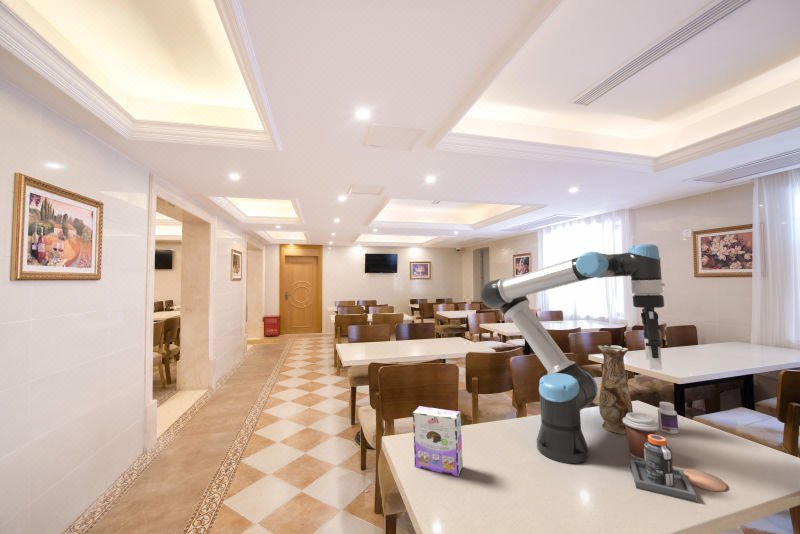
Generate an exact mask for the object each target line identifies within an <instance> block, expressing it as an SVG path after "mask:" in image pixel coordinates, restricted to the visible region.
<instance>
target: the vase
mask: <svg viewBox="0 0 800 534" xmlns="http://www.w3.org/2000/svg"><path fill="white" fill-rule="evenodd" d="M597 347H598V349H599V350H600V352H601V354H602V356H603V365H602V366H603V367H602V375H601V383H600V391H599V399H598V406H599V407H598V409H599V414H600V418H601V419H602V420H603V421H604V422H603V423H602V424H601V426H602V427H603V428H604V430H607V431H609V432H612V433H616V434H623V435H624V434H626V435H627V432H626V426H625V424H624V423H623V421H622V419H623V418H624V417H626V414H627V413H630V412H634V411H633V404H632V398H631V397H632V396H631V394H630V389H629V383H628V379H627V374H626V369H625V362H624V361H625V360H624V357H625V355H626V354H627V352H628V351H629V348H626V347H622V346H620V345H610V346H608V345H604V346H603V345H601V344H600V345H597Z"/></svg>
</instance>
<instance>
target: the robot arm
mask: <svg viewBox="0 0 800 534" xmlns="http://www.w3.org/2000/svg"><path fill="white" fill-rule="evenodd" d="M661 266H662V265H661V258H660V249H659V246H657V245H656V244H652V243H651V244H637V245H632V246H629V247H628V251H627V252H623V253H612V254H610V253H609V254H608V253H607V254H606V253H600V252H598V251H589V252H584V253H582V254H581V255H579V256H578V257H575V258H572V259H568V260H565V261H562V262H559V263H555V264H553V265H550V266H546V267H542V268H538V269H536V270H533V271H530V272H527V273H524V274H523V273H522V274H520V275H516V276H514V277H511V278H504V277H502V278H499V279H494V280H490V281H488V282H485V284H483V286H482V287H481V289H480V292H479V293H480V299H481V302H482V303H483V304H484V305H485V306H486V307H488V308H489V309H492V310H500V311H501V313H502V314H503V316H504V317H505V318H510V319H511V321H512V322H513V323H514V325H515V326H516V328H517V330H518V331H519V332H520V334H521V335H522V337H523V338H524V339H525V342H526V343H528V345H529V346H530V348H531V349H532V351H533V353H534V354H535V355H536V357H537V358H538V359H539V361H540V362H541V364H542V365H543V367H544V368H545V370H546V371H547V374H545V375H543V376H542V377H540V379H539V385H538V392H539V402H540V403H539V404H540V405H539V407H540V421H541V422H540V423H541V424H540V427H539V431H538V433H537V437H536V448H537V450H538V451H539V453H541V454H542V455H543V456H545V457H547V458H549V459H551V460H554V461H557V462H561V463H564V464H565V463H566V464H580V463H582V464H583V463H585V462H586V461H588V460H589V459H590V451H589V446H588V444H587V441H586V438H585V436H584V433H583V430H582V425H581V424H582V422H581V421H582V420H581V411H582V410H583V409H585V408H587V406H589V405H592V404H593V402H594V401H595V399H596V398H597V396H598V392H599V389H598V384H597V382H596V380H595V377H593V375H591V374H590V373H589V372H587V371H585V370H583V369H581V368H580V365H578V364H577V363H576V361H574V360H570V359H568V357H567V356H566V355H565V353H564V352H563V350H562V349H561V348H560V347H559V346H558V343H556V341H555V340H554V338H553V337H552V336H551V335H550V332H548V330H547V329H546V328H545V326H544V325H543V324H542V322H541V321H540V319H538V317H537V316H536V315H535V313H534V312H533V311H532V309H531V308H530V300H529V299H528V298H527V296H529V295H533V294H537V293H539V292H544V291H547V290H552V289H555V288H559V287H563V286H566V285H571V284H574V283H578V282H582V281H587V280H591V279H594V278H598V279H601V278H602V279H603V278H615V277H629V276H630V280H631V281H630V283H631V286H630V287H631V293H632V294H634V295H632V306H633V307H634V308H642V309H641V312H640V317H641V323H642V325H643V338H644V349H645V359H646V360H648V361H649V369H650V370H658V371H663V366H662V365H663V364H662V363H663V361H662V350H661V346H662V345H661V344H662V342H661V338H660V332H659V314H658V313H657V311H655V308H657V309H658V308H663V307H665V300H664V296H663V292H664V290H663V287H665V286H666V284H665V283H663V280H662V278H663V277H662V269H661V268H662V267H661Z"/></svg>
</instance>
